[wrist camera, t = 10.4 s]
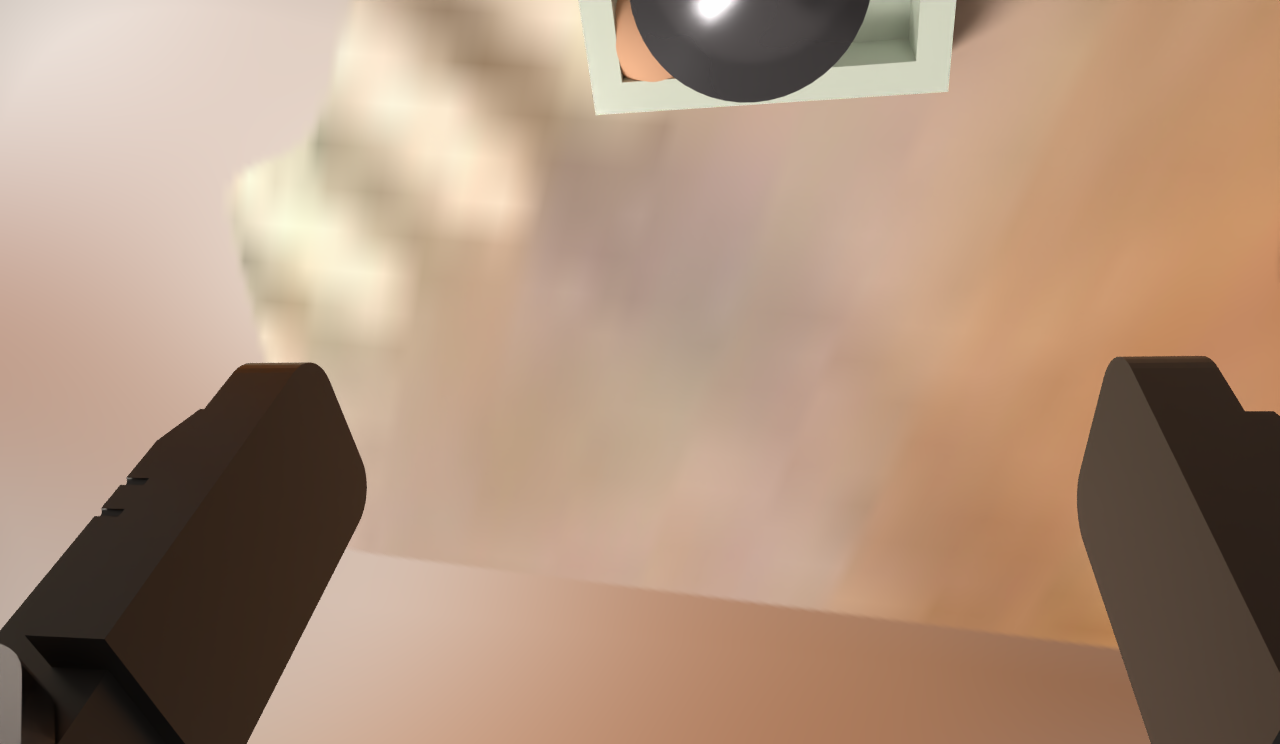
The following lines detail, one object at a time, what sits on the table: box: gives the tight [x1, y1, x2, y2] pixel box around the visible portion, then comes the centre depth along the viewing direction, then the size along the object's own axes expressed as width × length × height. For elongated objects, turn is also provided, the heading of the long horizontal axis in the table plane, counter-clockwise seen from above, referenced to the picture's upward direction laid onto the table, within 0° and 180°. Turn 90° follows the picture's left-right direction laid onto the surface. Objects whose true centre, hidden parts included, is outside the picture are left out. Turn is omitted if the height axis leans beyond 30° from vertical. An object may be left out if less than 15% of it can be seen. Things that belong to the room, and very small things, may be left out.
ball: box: [615, 0, 674, 82], centre depth 29 cm, size 3×3×3 cm
